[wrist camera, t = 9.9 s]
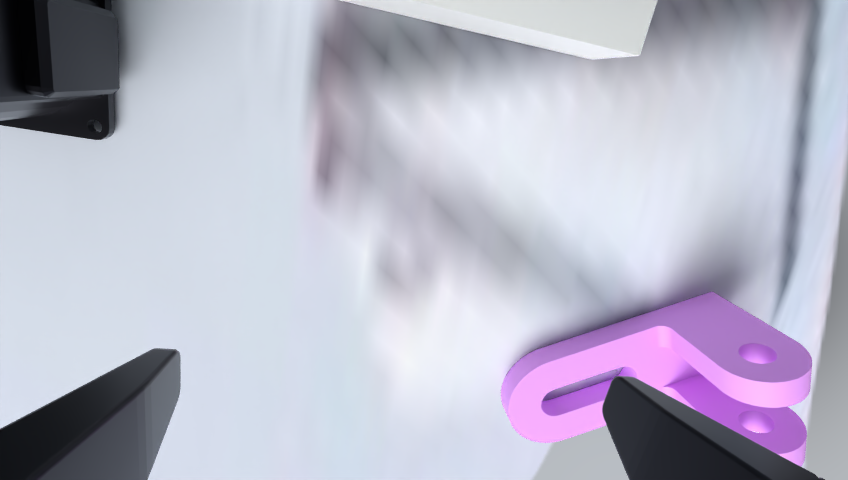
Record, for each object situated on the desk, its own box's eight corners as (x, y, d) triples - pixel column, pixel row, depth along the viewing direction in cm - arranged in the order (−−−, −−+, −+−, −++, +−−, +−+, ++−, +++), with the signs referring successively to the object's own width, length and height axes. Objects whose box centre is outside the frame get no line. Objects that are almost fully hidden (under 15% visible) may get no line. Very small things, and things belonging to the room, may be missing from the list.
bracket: (710, 290, 25) (836, 365, 18) (712, 368, 27) (827, 460, 20) (491, 362, 24) (541, 466, 18) (510, 436, 26) (562, 553, 20)
